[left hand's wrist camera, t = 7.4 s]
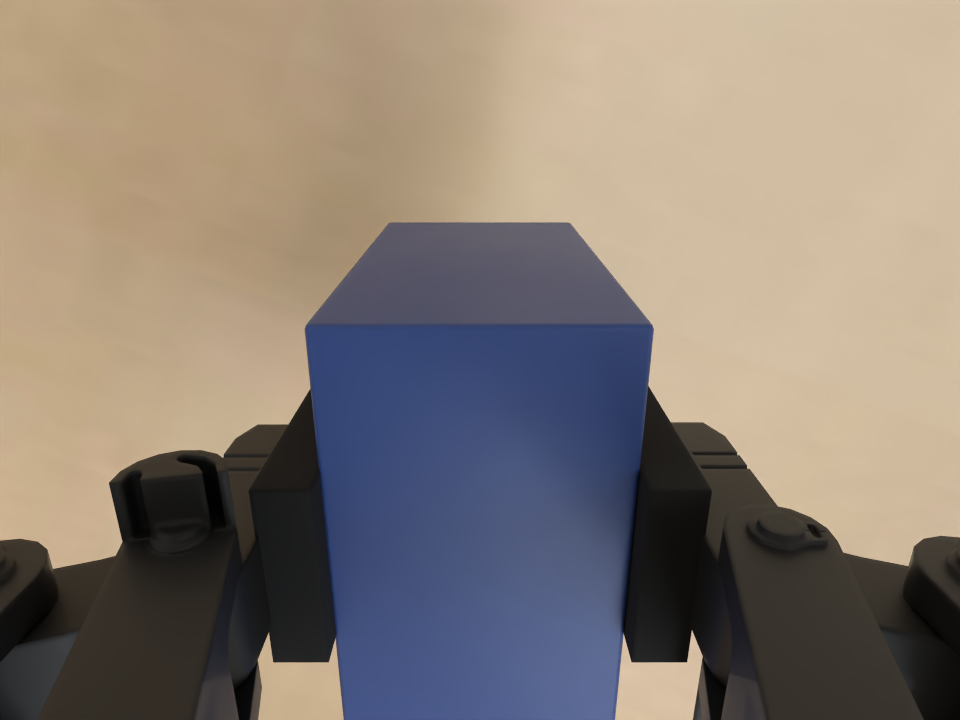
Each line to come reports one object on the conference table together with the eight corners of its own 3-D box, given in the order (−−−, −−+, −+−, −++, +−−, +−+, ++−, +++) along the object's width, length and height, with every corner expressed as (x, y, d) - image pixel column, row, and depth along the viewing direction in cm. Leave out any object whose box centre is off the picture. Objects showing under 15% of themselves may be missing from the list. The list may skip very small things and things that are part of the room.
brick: (400, 476, 17) (344, 737, 10) (388, 222, 15) (302, 325, 8) (558, 476, 17) (614, 737, 10) (571, 222, 15) (655, 325, 8)
